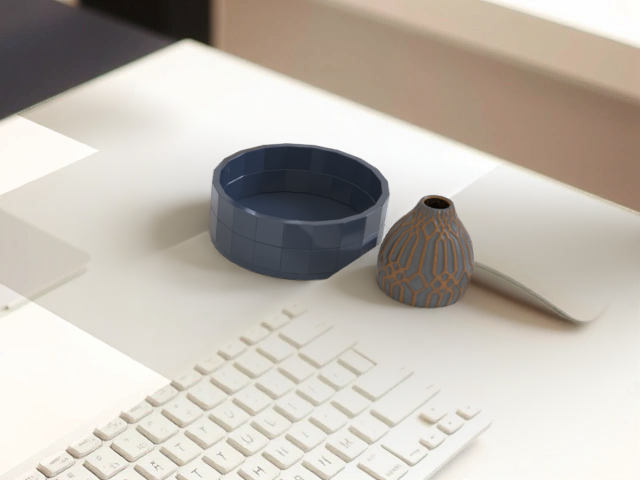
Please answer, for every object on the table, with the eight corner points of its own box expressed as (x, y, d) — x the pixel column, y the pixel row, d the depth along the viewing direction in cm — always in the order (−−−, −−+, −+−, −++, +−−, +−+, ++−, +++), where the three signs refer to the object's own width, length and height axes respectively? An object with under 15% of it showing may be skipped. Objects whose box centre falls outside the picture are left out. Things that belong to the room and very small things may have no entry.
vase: (426, 341, 78) (449, 236, 73) (352, 301, 82) (368, 199, 77) (481, 307, 82) (506, 204, 77) (407, 270, 86) (426, 171, 81)
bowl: (277, 179, 99) (282, 128, 96) (412, 234, 91) (422, 180, 88) (174, 235, 90) (176, 181, 87) (313, 301, 82) (321, 244, 79)
